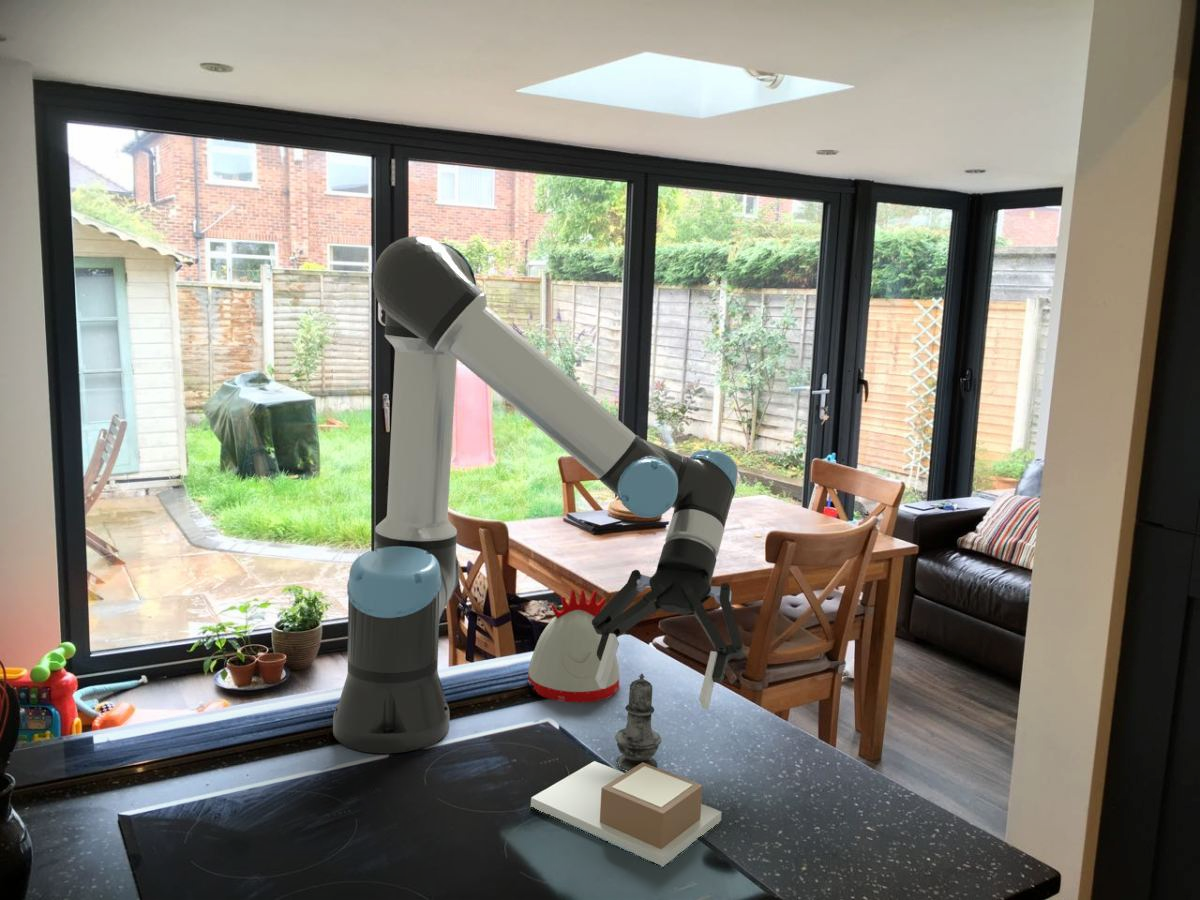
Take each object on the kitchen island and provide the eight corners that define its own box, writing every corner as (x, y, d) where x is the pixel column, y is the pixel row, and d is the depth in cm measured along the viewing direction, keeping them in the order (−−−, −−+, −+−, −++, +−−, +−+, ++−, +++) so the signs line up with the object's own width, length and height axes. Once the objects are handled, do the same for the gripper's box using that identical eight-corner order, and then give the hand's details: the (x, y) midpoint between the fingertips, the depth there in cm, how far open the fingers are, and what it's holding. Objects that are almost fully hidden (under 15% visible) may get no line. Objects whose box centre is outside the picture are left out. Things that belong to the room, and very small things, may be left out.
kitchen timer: (627, 701, 140) (632, 603, 138) (534, 704, 137) (538, 603, 135) (608, 666, 153) (613, 576, 151) (523, 668, 151) (527, 576, 148)
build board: (530, 807, 109) (532, 763, 108) (593, 770, 118) (596, 729, 117) (663, 867, 98) (666, 820, 97) (720, 821, 108) (724, 777, 107)
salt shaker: (656, 778, 117) (662, 685, 115) (609, 771, 118) (614, 679, 116) (662, 756, 123) (668, 668, 121) (617, 750, 124) (622, 662, 122)
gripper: (783, 577, 129) (752, 725, 118) (611, 552, 138) (566, 688, 126) (778, 548, 123) (745, 700, 112) (599, 524, 132) (552, 663, 121)
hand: (650, 694), depth 119 cm, fingers open, 13 cm apart
